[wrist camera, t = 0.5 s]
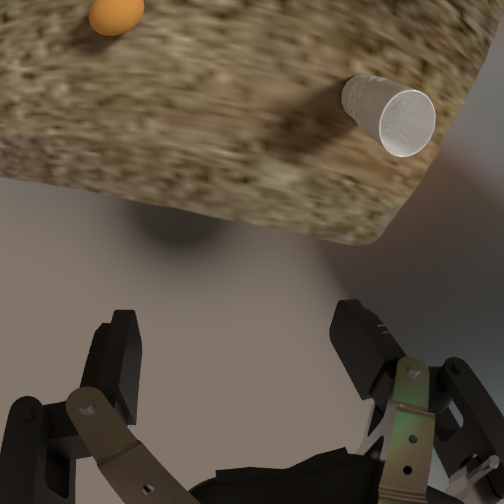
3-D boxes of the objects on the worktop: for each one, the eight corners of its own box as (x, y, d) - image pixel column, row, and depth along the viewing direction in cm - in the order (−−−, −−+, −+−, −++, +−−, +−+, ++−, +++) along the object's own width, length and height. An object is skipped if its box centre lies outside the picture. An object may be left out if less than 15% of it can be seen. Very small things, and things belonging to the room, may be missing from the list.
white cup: (329, 117, 34) (369, 150, 27) (344, 61, 28) (392, 79, 21) (377, 129, 36) (420, 162, 28) (394, 79, 30) (444, 103, 23)
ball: (88, 21, 19) (69, 21, 16) (121, -18, 17) (108, -26, 13) (124, 43, 23) (111, 46, 19) (158, 5, 21) (152, 0, 17)
